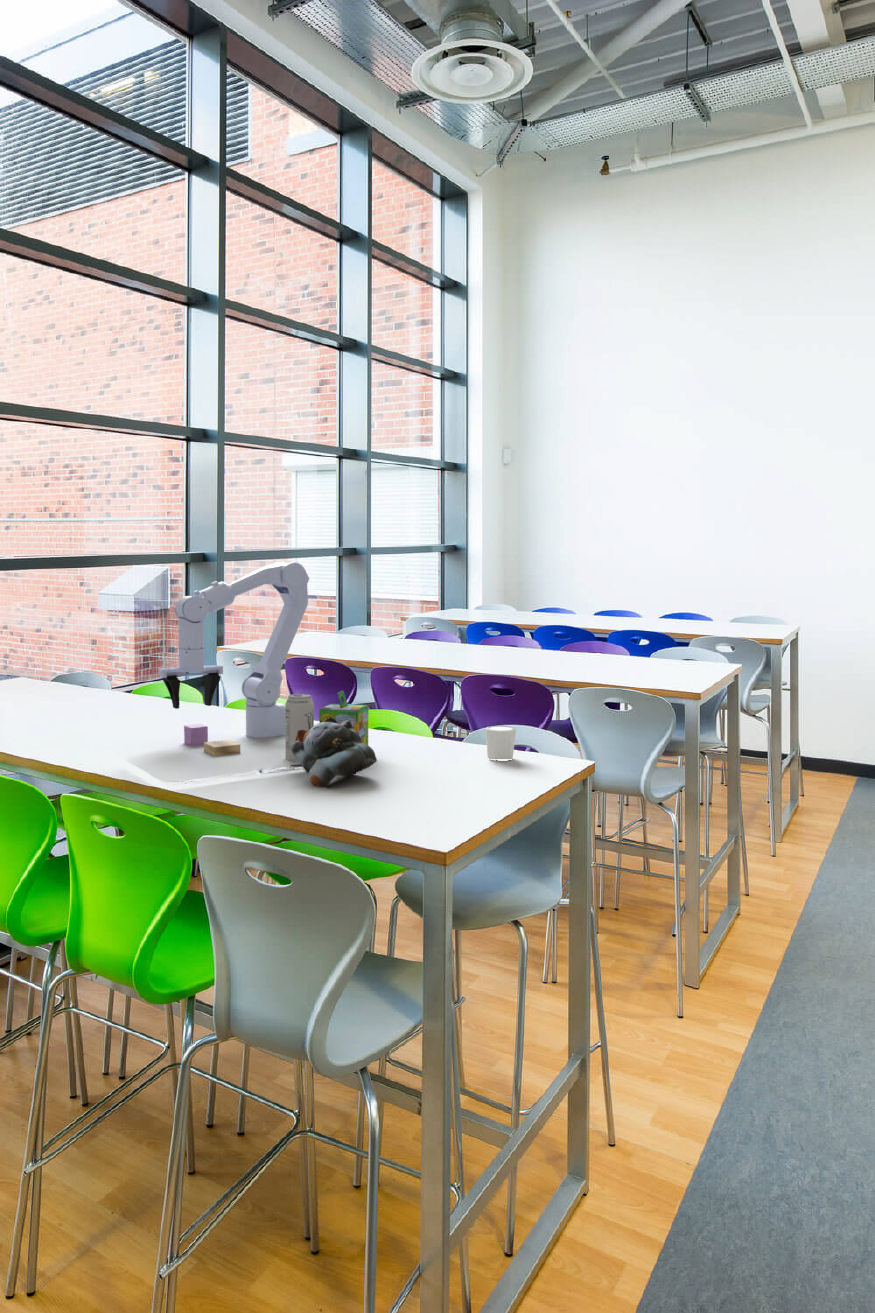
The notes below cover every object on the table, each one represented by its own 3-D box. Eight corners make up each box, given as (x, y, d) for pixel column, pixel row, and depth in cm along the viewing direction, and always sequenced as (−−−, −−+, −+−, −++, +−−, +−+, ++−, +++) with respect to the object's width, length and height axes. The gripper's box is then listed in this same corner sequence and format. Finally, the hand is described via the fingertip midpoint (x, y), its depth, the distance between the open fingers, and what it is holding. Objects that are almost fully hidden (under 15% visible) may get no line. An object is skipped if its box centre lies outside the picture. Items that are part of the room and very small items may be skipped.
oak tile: (229, 748, 202) (229, 739, 202) (240, 753, 197) (240, 744, 197) (203, 751, 199) (203, 742, 198) (214, 756, 194) (214, 747, 194)
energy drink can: (308, 768, 190) (308, 698, 188) (281, 766, 191) (281, 696, 189) (317, 762, 195) (317, 694, 194) (291, 760, 197) (291, 693, 195)
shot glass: (479, 760, 200) (480, 729, 200) (492, 754, 207) (493, 724, 206) (507, 763, 197) (508, 732, 197) (520, 757, 203) (520, 727, 203)
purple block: (200, 747, 210) (200, 723, 209) (207, 749, 207) (207, 726, 206) (184, 749, 207) (184, 725, 207) (191, 752, 204) (191, 728, 204)
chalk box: (358, 762, 196) (358, 695, 194) (318, 760, 198) (318, 693, 196) (369, 754, 205) (370, 690, 203) (331, 751, 207) (331, 688, 205)
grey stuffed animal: (314, 791, 170) (288, 724, 173) (305, 800, 181) (280, 737, 184) (385, 763, 176) (358, 698, 178) (372, 774, 187) (347, 713, 189)
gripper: (214, 645, 214) (214, 701, 215) (154, 648, 205) (155, 706, 206) (226, 648, 208) (227, 705, 209) (165, 650, 199) (166, 711, 201)
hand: (192, 706), depth 208 cm, fingers open, 7 cm apart
